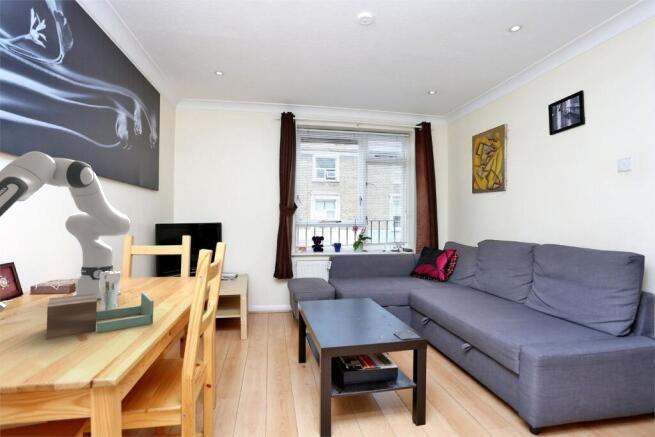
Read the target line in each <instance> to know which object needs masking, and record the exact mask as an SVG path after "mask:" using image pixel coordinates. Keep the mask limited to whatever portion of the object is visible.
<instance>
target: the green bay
mask: <svg viewBox="0 0 655 437" xmlns="http://www.w3.org/2000/svg"><path fill="white" fill-rule="evenodd" d="M140 297H141V298H140V304H139V305H132V306H125V307H118V308H116V309H109V310H102V311H100V310H97V316H96V321H100V320H105V321H100V322H96V333H97V334H98V333H104V332H111V331H115V330H121V329H126V328H133V327H138V326H144V325H145V326H146V325H150V324H151V325H152V324H153V323H154V299H152V298H151V297H150V295H148V294H147V293H146V292H145V291H141V294H140ZM140 314H141V315H140ZM133 315H138V316H133ZM127 316H130V317H127ZM131 316H132V317H131ZM119 317H125V318H119ZM113 318H118V319H113ZM107 319H113V320H107ZM106 320H107V321H106Z"/></svg>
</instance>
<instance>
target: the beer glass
mask: <svg viewBox="0 0 655 437" xmlns="http://www.w3.org/2000/svg"><path fill="white" fill-rule="evenodd" d="M120 287H121V271H118V270H113V271H106V272H101V273H100V280H99V289H100V295H101V298H100V307H99V311H102V310H109V309H116V308H119V305H118V297H119V294H118V293H119V291H120V289H121V288H120Z"/></svg>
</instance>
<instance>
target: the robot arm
mask: <svg viewBox="0 0 655 437" xmlns="http://www.w3.org/2000/svg"><path fill="white" fill-rule="evenodd" d="M46 185H48V186H53V187H62V188H67V189H68V191H69V193H70V196H71V198H72V201H73V203H74V206H75V207H76V208H77V209H78V210H79V211H80V212H77V213H71V214H70V215H69V216H68V217H67V218H66V220H65V229H66V230H67V232H68V233H69V234H71V235H72V236H74V237H75V239H76V240H77V242H78V243H79V244H80V247H81V251H82V266H81V269H80V275H81V276H79V278H78V279H77V280H76V281H75V283H74V288H75V291H74V293H73V294H72V295H71V296H78V295H88V294H95V296H96V299H97V300H99V299H100V300H101V295H100V289H99V280H100V273H101V272H106V271H114V265H113V249H112V247H111V246H109V245H108V244H106V243H104V242H103V241H102V240H101V237H118V236H125V235H127V234H128V232H129V231H130V229H131V220H130V218H128V216H127V215H126V214H124V213H121V212H120V211H119V210H117V209H115V208H114V207H113V206H112V205H111V204H110V203H109V201H108V200H107V198H106V196H105V194H104V191H103V189H102V185H101V183H100V180H99V178H98V176H97V175H96V173H95V171H94V169H93V168H92V167H91V165H90V164H88V163H87V162H85V161H82V160H81V161H80V160H74V159H70V158H65V157H64V158H63V157H51V156H50V155H48V154H46V153H44V152H41V151H37V150H34V151H29V152H26V153H23V154H22V155H21V156H19V157H17V158H15V159H14V160H12V161H11V162H9V163H8V164H7V165H4V167H3V168H2V169H1V170H0V218H1V217H2V216H3V215H4V214H5V213H6V212H8V210H9V209H10V208H12V206H13V205H14V204H16V203H17V202H25V201H27V200H29V199H31V198H32V197H33V196H35V195H36V194H38V193H39V191H41V190H42V189H43V188H44V187H45V186H46ZM120 294H121V290H119V293H118V295H120ZM6 308H7V305H6V304H4V303H3V302H2V301H0V313H2V312H3V311H4V310H5V309H6Z"/></svg>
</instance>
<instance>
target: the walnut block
mask: <svg viewBox="0 0 655 437" xmlns="http://www.w3.org/2000/svg"><path fill="white" fill-rule="evenodd" d="M97 311H98V299H96V296H95V294H88V295H78V296H72V295H70V296H69V295H68V296H59V297H52V298H51V297H50V298H49V299H48V303H47V309H46V335H45V336H46V337H45V338H46V339H45V340H46V341H47V340H53V339H59V338H64V337H70V336H76V335H82V334H89V333H94V332H97V320H96V316H97Z"/></svg>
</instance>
